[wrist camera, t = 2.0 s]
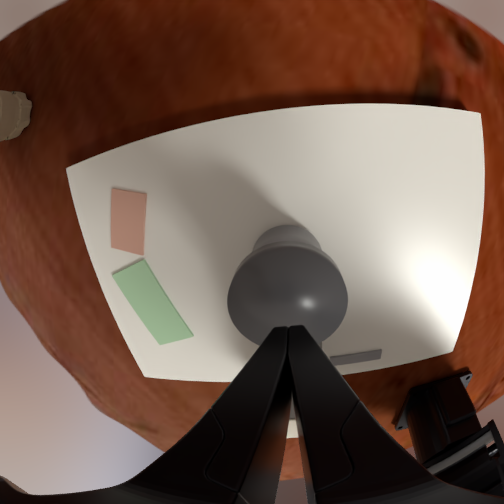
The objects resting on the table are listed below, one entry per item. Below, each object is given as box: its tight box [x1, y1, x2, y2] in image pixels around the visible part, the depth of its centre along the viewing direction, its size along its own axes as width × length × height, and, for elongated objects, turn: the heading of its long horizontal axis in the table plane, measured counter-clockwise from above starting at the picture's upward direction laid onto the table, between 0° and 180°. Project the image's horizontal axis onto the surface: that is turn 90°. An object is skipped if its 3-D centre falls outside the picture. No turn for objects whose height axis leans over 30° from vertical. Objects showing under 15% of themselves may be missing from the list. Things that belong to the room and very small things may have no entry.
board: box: [66, 104, 484, 382], centre depth 13 cm, size 15×22×1 cm
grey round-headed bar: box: [227, 225, 348, 438], centre depth 12 cm, size 11×4×4 cm, turn 9°
